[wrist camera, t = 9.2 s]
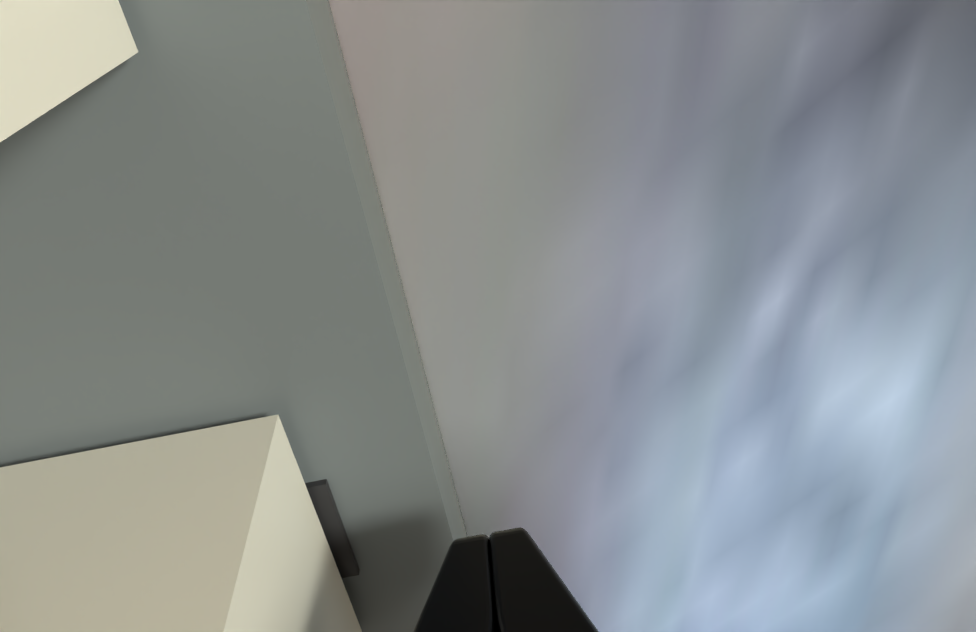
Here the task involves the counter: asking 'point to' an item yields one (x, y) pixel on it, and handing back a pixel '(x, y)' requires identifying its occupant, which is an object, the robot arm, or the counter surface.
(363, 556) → the switch bank
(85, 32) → the middle tab
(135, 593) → the cream cube
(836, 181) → the counter surface
